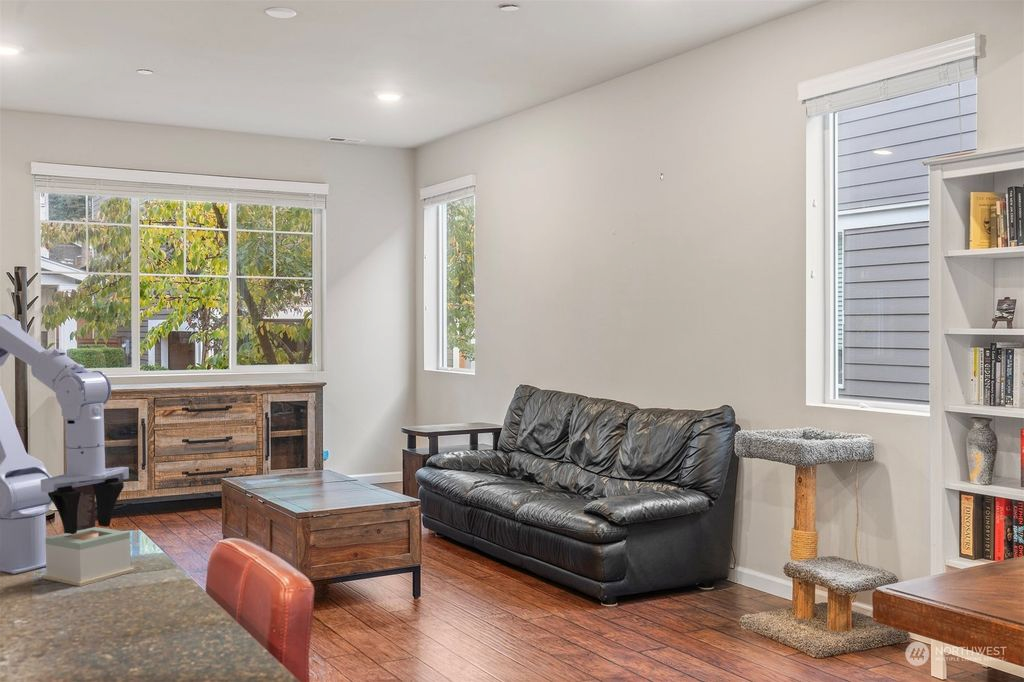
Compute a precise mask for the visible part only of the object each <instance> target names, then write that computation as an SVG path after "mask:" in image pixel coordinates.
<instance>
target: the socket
mask: <svg viewBox="0 0 1024 682" xmlns="http://www.w3.org/2000/svg"><path fill="white" fill-rule="evenodd" d="M88 531H97V532H98V534H99V537H94V538H90V539H86V540H80V539H74V538H72V536H73V535H75V534H78V533H82V532H88ZM130 533H131V532H130V531H126V530H125V531H124V530H118V529H112V528H105V527H100V526H95V527H93V528H88V529H84V530H79V531H77V533H75V534H69V533H65V534H64V533H62V534H57V535H51V536H46V538H45V540H46V566H45V567H46V568H45V569H46V570H45V571H46V573H44V574H41V579H44V580H49V581H54V582H59V583H64V584H67V585H73V586H77V587H81V586H85V585H89V584H93V583H96V582H100V581H104V580H107V579H111V578H116V577H119V576H123V575H127V574H129V573H134V572H136V567H133V566H132V567H131V541H130V540H131V537H130V535H131V534H130Z"/></svg>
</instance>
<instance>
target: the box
mask: <svg viewBox="0 0 1024 682" xmlns="http://www.w3.org/2000/svg"><path fill="white" fill-rule="evenodd" d="M88 481H92V480H88ZM80 482H86V481H79V483H80ZM72 489H74V491H76V492H80V493H81V494H80V498H79V503H78V509H77V531H79V530H84V529H88V528H93V527H96V497H95V493H94V489H93V486H92V484H90V485H84V486H78V487H72ZM63 534H65V530H64V529H63Z"/></svg>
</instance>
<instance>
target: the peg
mask: <svg viewBox="0 0 1024 682" xmlns="http://www.w3.org/2000/svg"><path fill="white" fill-rule="evenodd" d="M94 537H99V534H98V532H97V531H88V532H82V533H78V534H75V535H73V536H72V538H74V539H80V540H86V539H90V538H94Z"/></svg>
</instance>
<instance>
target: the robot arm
mask: <svg viewBox="0 0 1024 682" xmlns="http://www.w3.org/2000/svg"><path fill="white" fill-rule="evenodd" d="M66 354H67V352H66V351H65V350H64V349H62V348H48V349H46V348H44V347H43V346H42V345H41V344H40V343H39V342H38V341H36V340H35V339H34V338H33V337H31V335H29V334H28V333H27V332H26V331H24V329H22V324H21V321H20V320H17V319H15V318H14V317H13V316H11V315H10V314H7V313H4V314H3V313H2V314H0V367H2V366H3V365H5V363H6V361H7V359H8V358H9V356H10V355H13V356H14V357H16V358H17V359H19V360H21V361H22V362H24V363H26V364H27V365H29V366H31V367H30V372H31V375H32V376H33V377H34V379H36V380H37V381H39V382H41V384H43V385H44V386H46V387H47V388H49V389H50V390H51V391H53V392H54V393H55V398H56V400H57V403H58V404H59V406H60V408H61V416H62V418H63V420H65V422H64V423H65V446H66V447H65V454H66V456H65V458H66V459H65V460H66V461H65V462H66V473H64V474H60V475H56V476H52V475H51V474H50V473H49V471H48V470H47V469H46V466H45V464H44V462H43V461H41V460H40V459H38V458H36V457H34V456H32V455H30V454H28V453H27V451H26V448H25V445H24V443H23V441H22V438H21V436H20V432H19V430H18V428H17V425H16V423H15V422H16V421H15V419H14V417H13V415H12V412H11V410H10V408H9V405H8V402H7V399H6V397H5V394H4V392H3V388H2V386H1V385H0V572H5V573H7V574H8V573H9V574H15V575H16V574H19V573H24V572H28V571H32V570H36V569H39V568H43V567H46V540H45V538H47V517H46V516H47V515H46V512H48V511H50V506H51V505H52V504H53V505H54V506H55V509H56V510H57V512H58V514H59V517H60V520H61V523H62V526H63V531H64V530H65V533H69V534H75V533H77V509H78V503H79V498H80V494H81V493H80V492H76V491H74V489H72V487H78V486H84V485H90V484H92V486H93V489H94V493H95V503H96V512H97V513H96V515H97V516H96V517H97V523H98V527H100V526H101V527H104V528H105V527H110V525H111V521H112V517H113V513H114V510H115V506H116V503H117V501H118V499H119V496H120V495H121V492H122V491H123V489H124V487H125V486H124V485H125V484H124V481H120V480H129V479H130V476H129V475H130V474H129V471H130V469H129V466H118V467H117V466H116V467H108V468H106V451H105V450H106V449H105V445H106V443H105V418H104V415H105V414H104V411H105V410H104V406H105V405H106V404H107V403H108V401H109V400H110V398H111V396H112V385H111V382H110V379H109V378H108V376H107V375H106V374H105V373H104V372H103V371H102V370H92V371H90V370H87V369H86V368H85V365H83V364H82V363H78V362H76V361H75V360H73V359H72V358H70V357H69V356H68V355H66ZM88 480H92V481H88ZM79 481H86V482H80V483H79Z"/></svg>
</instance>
